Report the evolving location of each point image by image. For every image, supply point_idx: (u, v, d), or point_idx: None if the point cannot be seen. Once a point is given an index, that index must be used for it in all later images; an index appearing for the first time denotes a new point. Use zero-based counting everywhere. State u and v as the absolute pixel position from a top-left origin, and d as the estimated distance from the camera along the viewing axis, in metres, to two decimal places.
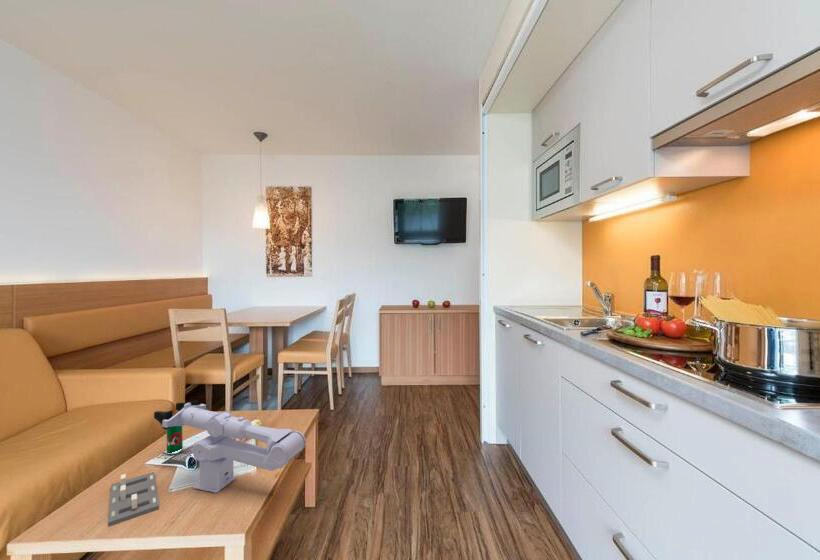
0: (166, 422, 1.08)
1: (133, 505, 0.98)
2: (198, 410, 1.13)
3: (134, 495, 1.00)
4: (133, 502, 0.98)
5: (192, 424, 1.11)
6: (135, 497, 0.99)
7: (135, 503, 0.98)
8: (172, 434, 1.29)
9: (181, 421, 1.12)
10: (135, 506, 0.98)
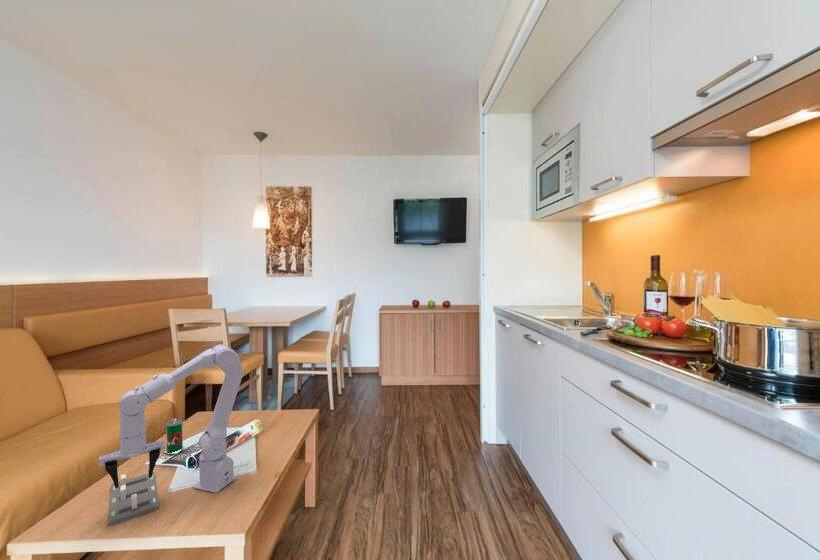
0: None
1: (133, 505, 0.98)
2: (120, 436, 0.97)
3: (134, 495, 1.00)
4: (133, 502, 0.98)
5: (137, 434, 0.97)
6: (135, 497, 0.99)
7: (135, 503, 0.98)
8: (172, 434, 1.29)
9: None
10: (135, 506, 0.98)
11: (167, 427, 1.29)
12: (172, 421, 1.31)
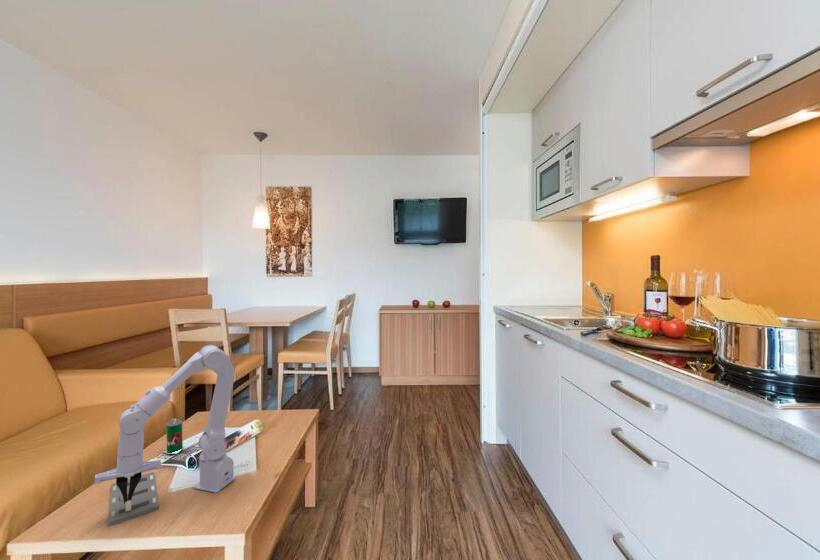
0: (160, 463, 1.02)
1: (127, 507, 0.97)
2: None
3: None
4: (127, 504, 0.97)
5: (134, 453, 0.97)
6: None
7: (129, 505, 0.97)
8: (172, 434, 1.29)
9: None
10: (129, 508, 0.97)
11: (167, 427, 1.29)
12: (172, 421, 1.31)
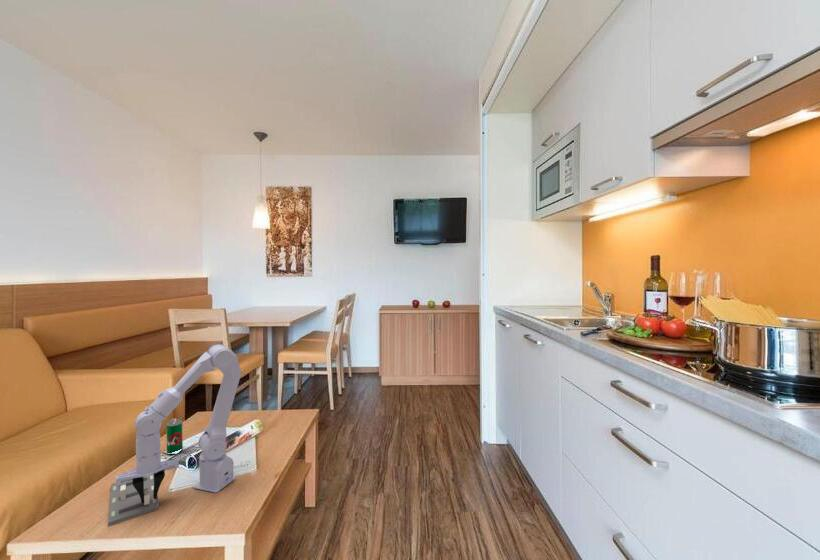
0: None
1: (146, 501, 1.00)
2: (136, 455, 0.99)
3: (146, 491, 1.02)
4: (146, 498, 1.00)
5: (152, 453, 1.00)
6: (147, 493, 1.01)
7: (148, 499, 1.00)
8: (172, 434, 1.29)
9: None
10: (148, 502, 1.00)
11: (167, 427, 1.29)
12: (172, 421, 1.31)
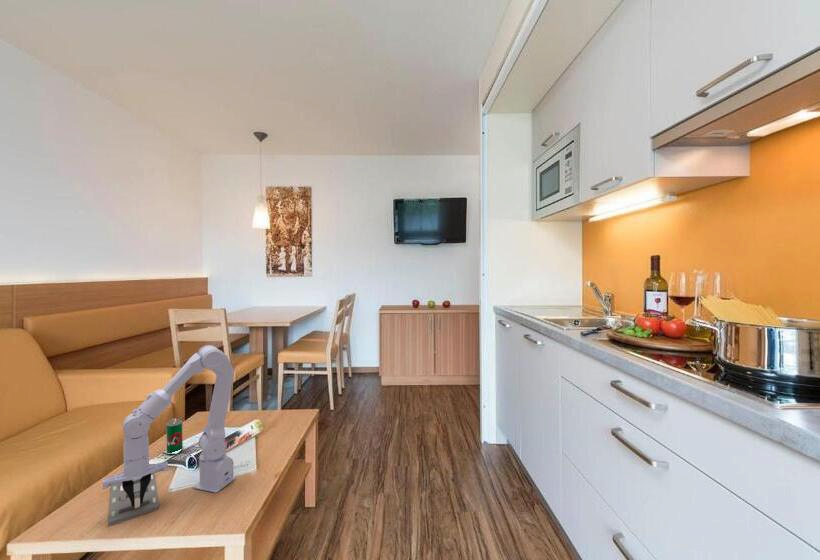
0: None
1: (136, 504, 0.98)
2: None
3: (137, 494, 1.00)
4: (136, 501, 0.98)
5: (140, 456, 0.98)
6: (138, 496, 0.99)
7: (138, 502, 0.99)
8: (172, 434, 1.29)
9: None
10: (138, 505, 0.99)
11: (167, 427, 1.29)
12: (172, 421, 1.31)
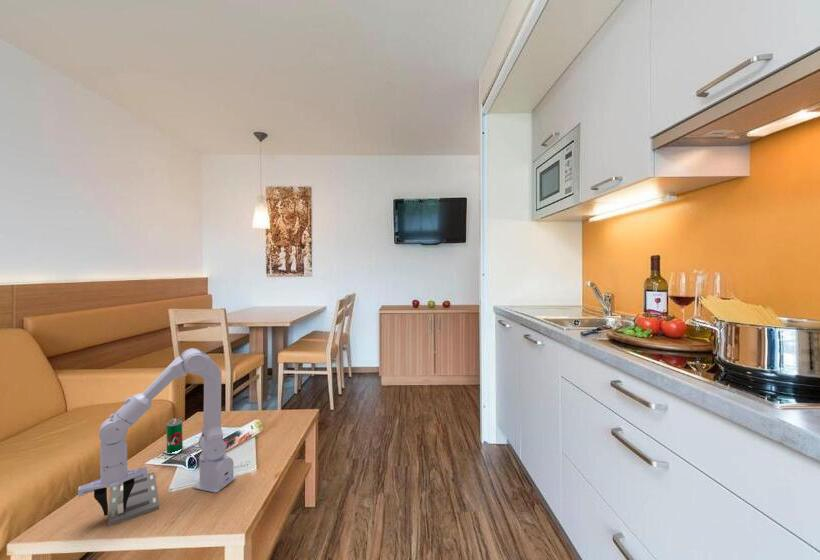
0: (146, 470, 1.00)
1: (119, 510, 0.96)
2: (100, 465, 0.94)
3: (120, 499, 0.98)
4: (119, 507, 0.96)
5: (117, 462, 0.95)
6: (121, 501, 0.97)
7: (121, 508, 0.96)
8: (172, 434, 1.29)
9: None
10: (121, 511, 0.96)
11: (167, 427, 1.29)
12: (172, 421, 1.31)
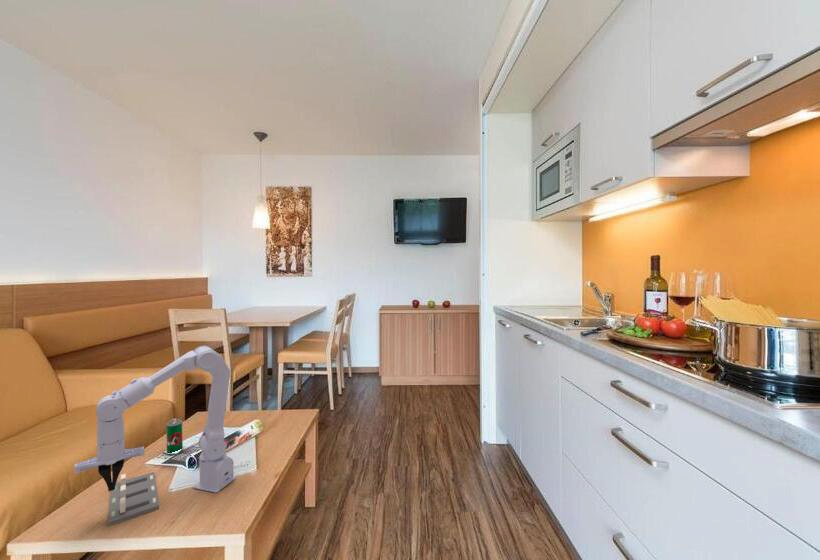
0: None
1: (121, 509, 0.96)
2: (97, 442, 0.94)
3: (122, 498, 0.98)
4: (121, 506, 0.96)
5: (114, 440, 0.94)
6: (123, 501, 0.97)
7: (123, 507, 0.97)
8: (172, 434, 1.29)
9: None
10: (123, 510, 0.97)
11: (167, 427, 1.29)
12: (172, 421, 1.31)
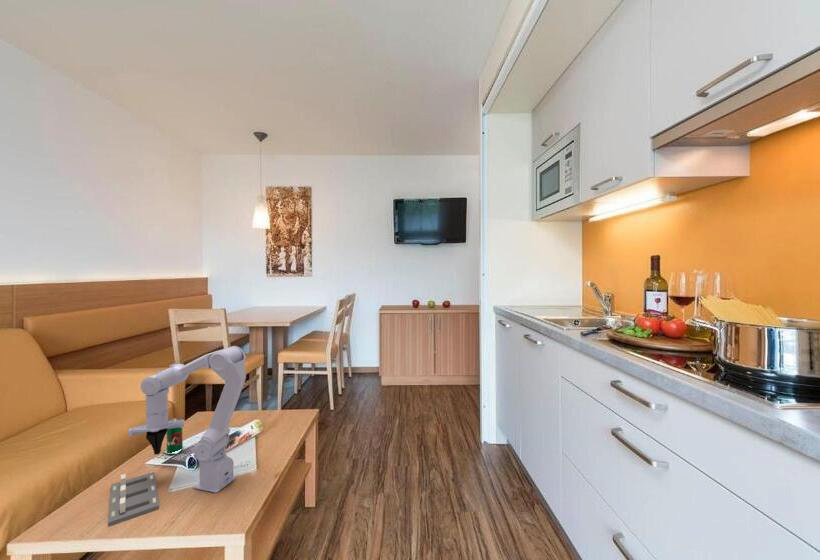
0: (183, 422, 1.15)
1: (121, 509, 0.96)
2: None
3: (122, 498, 0.98)
4: (121, 506, 0.96)
5: (152, 412, 1.10)
6: (123, 501, 0.97)
7: (123, 507, 0.97)
8: (172, 434, 1.29)
9: (167, 420, 1.15)
10: (123, 510, 0.97)
11: None
12: None
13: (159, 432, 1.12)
